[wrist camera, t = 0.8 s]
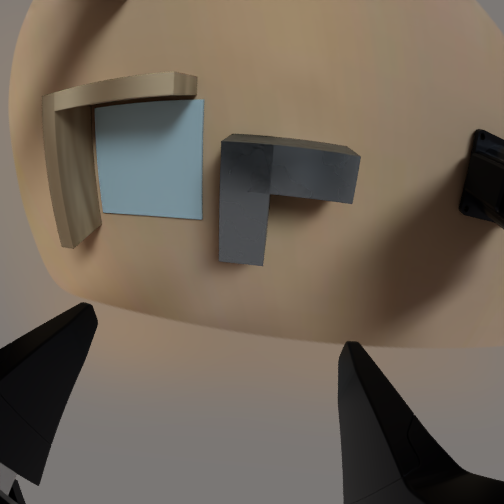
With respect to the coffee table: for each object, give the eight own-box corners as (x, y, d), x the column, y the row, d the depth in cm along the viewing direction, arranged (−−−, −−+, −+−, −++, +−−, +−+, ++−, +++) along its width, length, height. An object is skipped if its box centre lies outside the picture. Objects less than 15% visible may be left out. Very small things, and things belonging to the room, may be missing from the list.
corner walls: (197, 76, 15) (174, 71, 11) (195, 232, 20) (178, 262, 17) (78, 91, 15) (41, 96, 12) (90, 223, 20) (61, 247, 17)
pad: (204, 99, 15) (203, 99, 15) (202, 218, 19) (201, 219, 19) (96, 108, 16) (94, 108, 16) (104, 211, 20) (103, 212, 20)
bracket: (232, 133, 17) (221, 141, 13) (346, 146, 16) (360, 156, 13) (229, 234, 20) (218, 261, 17) (329, 245, 20) (336, 273, 17)
